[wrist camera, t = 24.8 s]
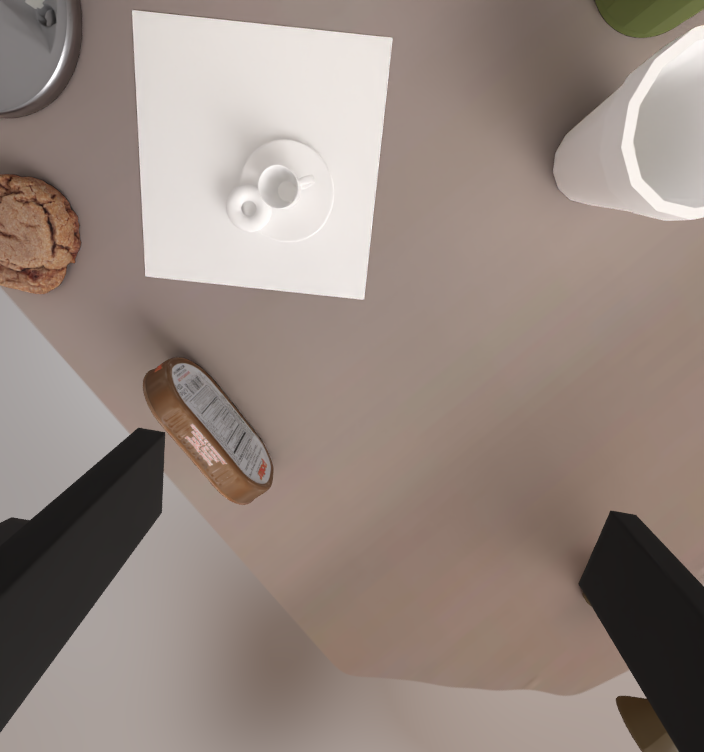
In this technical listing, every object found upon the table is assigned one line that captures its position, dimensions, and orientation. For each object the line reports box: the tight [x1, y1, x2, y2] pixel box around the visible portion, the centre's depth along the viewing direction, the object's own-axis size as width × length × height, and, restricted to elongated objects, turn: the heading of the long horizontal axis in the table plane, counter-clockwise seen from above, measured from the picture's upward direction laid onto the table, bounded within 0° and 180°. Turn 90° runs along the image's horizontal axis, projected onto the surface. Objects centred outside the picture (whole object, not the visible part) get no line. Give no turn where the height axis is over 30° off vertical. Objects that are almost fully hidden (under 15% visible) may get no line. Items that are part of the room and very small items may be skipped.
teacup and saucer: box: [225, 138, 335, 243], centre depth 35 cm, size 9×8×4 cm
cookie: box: [0, 174, 81, 294], centre depth 37 cm, size 10×11×3 cm
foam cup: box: [553, 25, 704, 221], centre depth 29 cm, size 10×9×13 cm
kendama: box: [583, 592, 679, 752], centre depth 39 cm, size 6×10×20 cm, turn 130°
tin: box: [143, 357, 273, 505], centre depth 39 cm, size 15×3×8 cm, turn 34°
